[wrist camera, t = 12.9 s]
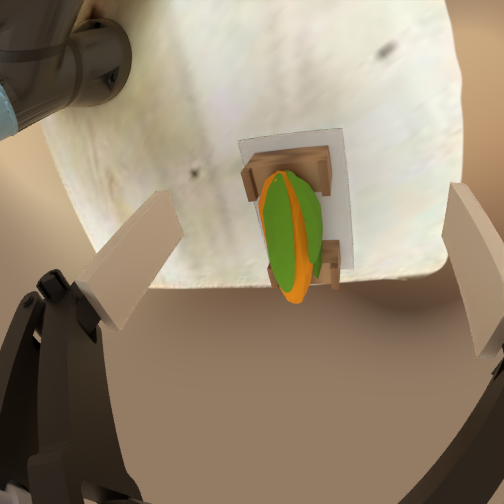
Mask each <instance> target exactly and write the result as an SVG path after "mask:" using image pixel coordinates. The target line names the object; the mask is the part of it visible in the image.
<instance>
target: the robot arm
mask: <svg viewBox="0 0 504 504" xmlns="http://www.w3.org/2000/svg"><path fill="white" fill-rule="evenodd" d="M83 2H84V0H0V141H1V140H3V139H5V138H7V137H9V136H13V135H15V134H16V133H18V132H20V131H21V130H23V129H25V128H27V127H28V126H30V125H32V124H34V123H36V122H37V121H39V120H41V119H43V118H45V117H47V116H49V115H51V114H53V113H55V112H57V111H59V110H61V109H63V108H65V107H91V106H96V105H99V104H101V103H104V102H106V101H108V100H110V99H112V98H113V97H114V96H115V95H117V94H118V92H119V91H120V90H121V89H122V87H123V86H124V84H125V82H126V80H127V77H128V74H129V71H130V66H131V48H130V43H129V40H128V37H127V35H126V33H125V32H124V30H123V29H122V28H121V27H120V26H119V25H118V24H117V23H116V22H114V21H112V20H109V19H105V18H98V19H89V20H85V21H82V22H80V23H78V24H76V25H74V23H75V21H76V18H77V16H78V13H79V11H80V9H81V6H82V4H83ZM183 236H184V234H183V231H182V228H181V226H180V223H179V220H178V218H177V215H176V212H175V209H174V207H173V204H172V201H171V198H170V195H169V192H168V190H165V191H156V192H155V193H154V194H153V195H152V196H151V197H150V198H149V199H148V200H147V201H146V202H145V203H144V204H143V205H142V206H141V207H140V208H139V209H138V210H137V211H136V212H135V213H134V214H133V215H132V216H131V217H130V218H129V219H128V220H127V221H126V222H125V223H124V224H123V226H122V227H121V228H120V229H119V230H118V231H117V232H116V233H115V234H114V235H113V236H112V238H111V239H110V240H109V241H108V242H107V243H106V244H105V245H104V246H103V248H102V249H101V250H100V251H99V252H98V253H97V254H96V256H95V257H94V258H93V259H92V260H91V261H90V263H89V264H88V265H87V266H86V267H85V269H84V270H83V271H82V272H81V273H80V275H79V276H78V277H77V278H76V280H75V281H74V282H73V283H72V285H71V286H70V285H69V284H68V282H67V281H66V279H65V277H64V276H63V274H62V273H61V271H60V270H58V269H54V270H51V271H49V272H48V273H46V274H45V275H44V276H43V277H42V278H41V279H40V280H39V281H38V283H37V285H36V286H37V288H38V290H39V291H40V292H41V294H42V295H43V297H44V298H45V299H42V298H41V296H40V295H39V293H38V292H36V291H33V292H31V293H28V294H27V295H25V296H24V298H23V299H22V300H21V302H20V304H19V306H18V308H17V310H16V312H15V315H14V317H13V319H12V322H11V324H10V326H9V329H8V332H7V334H6V336H5V339H4V342H3V344H2V347H1V350H0V504H84V500H83V498H85V499H88V500H91V501H94V502H96V503H98V504H151V503H147V502H143V499H142V496H141V493H140V491H139V488H138V486H137V484H136V483H135V481H134V480H133V479H132V478H131V477H130V476H129V474H128V473H127V471H126V469H125V466H124V462H123V458H122V455H121V451H120V447H119V442H118V438H117V433H116V429H115V424H114V419H113V414H112V408H111V404H110V397H109V392H108V384H107V378H106V370H105V362H104V354H103V344H102V333H101V328H100V327H99V325H98V323H99V321H100V320H102V321H103V322H104V324H105V325H106V326H107V328H109V329H113V330H117V331H121V330H122V328H123V327H124V325H125V323H126V322H127V320H128V319H129V317H130V315H131V314H132V312H133V311H134V309H135V307H136V306H137V304H138V303H139V301H140V300H141V298H142V297H143V295H144V293H145V292H146V290H147V289H148V287H149V286H150V284H151V283H152V281H153V280H154V278H155V277H156V275H157V274H158V272H159V271H160V269H161V268H162V266H163V265H164V263H165V262H166V260H167V259H168V257H169V256H170V254H171V253H172V251H173V250H174V249H175V247H176V246H177V244H178V243H179V241H180V240H181V238H182V237H183ZM442 238H443V241H444V244H445V246H446V249H447V252H448V255H449V257H450V260H451V263H452V266H453V269H454V272H455V275H456V278H457V282H458V285H459V288H460V291H461V295H462V298H463V301H464V306H465V309H466V313H467V317H468V321H469V325H470V330H471V334H472V339H473V343H474V348H475V354H476V358H477V359H484V358H493V357H495V356H496V355H497V353H498V352H499V350H500V349H501V347H502V348H503V352H504V244H503V242H502V240H501V238H500V237H499V235H498V233H497V231H496V230H495V228H494V226H493V225H492V223H491V221H490V220H489V218H488V216H487V215H486V213H485V212H484V210H483V209H482V207H481V206H480V204H479V202H478V201H477V200H476V198H475V197H474V195H473V194H472V192H471V191H470V189H469V188H468V187H467V185H466V184H465V183H452V182H450V188H449V195H448V202H447V208H446V214H445V220H444V225H443V231H442ZM34 330H35V331H36V332H37V333H38V335H39V336H40V337H41V343H39V342H38V341H37V340H36V339H35V337H34V336H33V333H34ZM491 374H492V375H493V377H492V379H491V381H490V383H489V385H488V386H487V388H486V390H485V392H484V393H483V395H482V397H481V398H480V400H479V402H478V403H477V405H476V407H475V408H474V410H473V412H472V413H471V415H470V416H469V418H468V419H467V421H466V422H465V424H464V425H463V427H462V428H461V430H460V431H459V432H458V434H457V435H456V437H455V438H454V439H453V441H452V442H451V443H450V445H449V446H448V448H447V449H446V450H445V451H444V453H443V454H442V455H441V456H440V458H439V459H438V460H437V461H436V463H435V464H434V465H433V466H432V467H431V469H430V470H429V471H428V472H427V473H426V474H425V475H424V477H423V478H422V479H421V480H420V481H419V482H418V483H417V484H416V486H415V487H414V488H413V489H412V490H411V491H410V492H409V493H408V494H407V495H406V496H405V497H404V498H403V499H402V500H401V501H400V502H399V503H398V504H487V503H488V501H489V500H490V499H491V497H492V496H493V494H494V493H495V491H496V490H497V488H498V487H499V485H500V484H501V482H502V480H503V479H504V358H503V359H502V360H501V362H500V363H499V364H498V366H497V367H496V368H495V370H494V371H493V372H492V373H491Z"/></svg>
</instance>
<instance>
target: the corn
mask: <svg viewBox="0 0 504 504" xmlns="http://www.w3.org/2000/svg"><path fill="white" fill-rule="evenodd" d="M284 171H286V172H284ZM284 171H281V170H280V171H278V170H277V171H275V172H274V173H273V174H272V175H271V176H269V177H268V178H267V179H266V180H265V182H264V185H263V188H262V192H261V195H260V198H259V201H258V208H259V214H260V219H261V223H262V228H263V232H264V237H265V241H266V245H267V250H268V256H269V260H270V264H271V268H272V271H273V274H274V277H275V279H276V281H277V282H278V284H279V287H280V289H281V291H282V292H283V294H284V295H285V297H286V299H287V301H290V302H292V303H294V304H297V303H300V302H302V300H303V298H304V296H305V294H306V291H307V289H308V287H309V285H310V283H311V278H312V270H313V273H314V276H315V277H316V278H317V279H318V277H319V274H320V270H321V266H322V246H323V243H322V236H323V222H322V213H321V205H320V203H319V201H318V199H317V196H316V194H315V193H314V191H313V190H312V189H311V187H310V185H309V184H308V183H307V182H305V181H304V180H303V179H301V178H300V177H299V176H297V175H296V174H294V173H293V172H292V171H289V170H284Z"/></svg>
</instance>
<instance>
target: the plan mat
mask: <svg viewBox="0 0 504 504" xmlns="http://www.w3.org/2000/svg"><path fill="white" fill-rule="evenodd" d="M324 145H328V146H329V152H330V159H331V167H332V185H331V196H322V193H321V192H314V193H315V194H316V196H317V199H318V201H319V203H320V205H321V213H322V222H323V236H322V240H339V242H340V255H341V265H340V269H353V243H352V225H351V210H350V197H349V186H348V176H347V166H346V157H345V149H344V141H343V134H342V128H338V129H325V130H314V131H304V132H295V133H287V134H279V135H271V136H264V137H258V138H251V139H245V140H239V141H238V146H239V149H240V153H241V157H242V160H243V164H244V167H245V166H246V164H247V163H248V162H249V160H250V159H251V158H252V156H253V155H254V153H259V152H267V151H275V150H283V149H292V148H302V147H313V146H324ZM259 198H260V196H259V197H258V199H257V201H254V205H255V208H256V212H257V216H258V220H259V223H260V227H261V231H262V235H263V238H264V242H265V246H266V250H267V245H266V241H265V237H264V232H263V228H262V223H261V219H260V214H259V208H258V201H259ZM267 254H268V250H267ZM268 258H269V256H268ZM269 261H270V260H269Z"/></svg>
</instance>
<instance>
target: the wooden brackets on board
mask: <svg viewBox="0 0 504 504" xmlns="http://www.w3.org/2000/svg"><path fill="white" fill-rule="evenodd" d="M277 170H278V171H280V170H281V171H284V170H289V171H292V172H293V173H294V174H296V175H297V176H299V177H300V178H301V179H303V180H304V181H305V182H307V183H308V184H309V185H310V187H311V189H312V190H313V191H314V192H321V193H322V196H331V185H332V167H331V159H330V152H329V146H328V145H324V146H313V147H302V148H292V149H283V150H275V151H267V152H259V153H254V155H253V156H252V158H251V159H250V160H249V162H248V163H247V164H246V166H245V167H244V168H243V170H242V171H241V176H242V179H243V183H244V187H245V190H246V194H247V197H248V201H249V202H252V201H257V199H258V197H259V196H260V195H261V192H262V188H263V185H264V182H265V180H266V179H267V178H268V177H269V176H271V175H272V174H273V173H274V172H275V171H277ZM284 172H286V171H284ZM322 243H323V246H322V266H321V270H320V274H319V277H318V279H317V278H316V277H315V276H314V273H313V270H312V278H311V283H310V284H332V289H339V281H340V265H341V255H340V242H339V240H322ZM267 270H268V274H269V278H270V281H271V285H272V289H279V284H278V282H277V281H276V279H275V277H274V274H273V271H272V268H271V264H270V263H269V266H268V269H267Z"/></svg>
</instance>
